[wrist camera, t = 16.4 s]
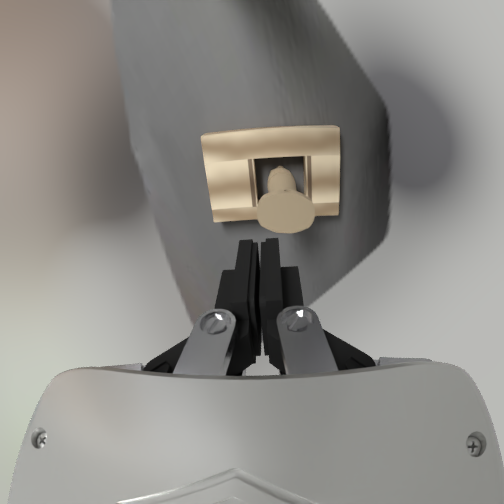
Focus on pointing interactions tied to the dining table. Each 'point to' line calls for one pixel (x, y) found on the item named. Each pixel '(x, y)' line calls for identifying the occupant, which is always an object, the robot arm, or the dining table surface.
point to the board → (267, 146)
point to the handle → (284, 205)
